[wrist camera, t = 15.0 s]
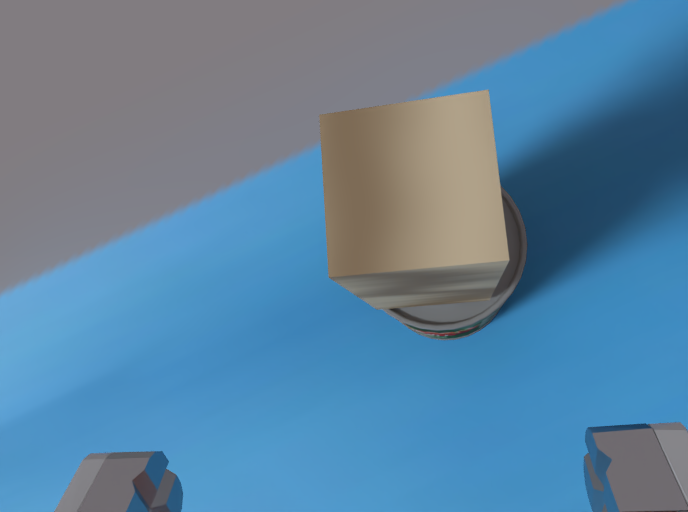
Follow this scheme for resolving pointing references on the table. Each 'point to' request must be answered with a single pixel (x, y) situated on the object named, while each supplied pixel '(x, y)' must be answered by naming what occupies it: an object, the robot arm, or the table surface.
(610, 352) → the table surface
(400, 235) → the oak block
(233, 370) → the table surface
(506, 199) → the canned tomato
